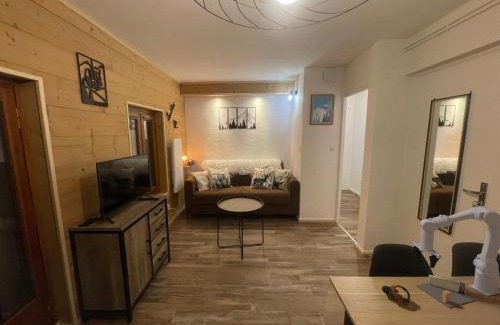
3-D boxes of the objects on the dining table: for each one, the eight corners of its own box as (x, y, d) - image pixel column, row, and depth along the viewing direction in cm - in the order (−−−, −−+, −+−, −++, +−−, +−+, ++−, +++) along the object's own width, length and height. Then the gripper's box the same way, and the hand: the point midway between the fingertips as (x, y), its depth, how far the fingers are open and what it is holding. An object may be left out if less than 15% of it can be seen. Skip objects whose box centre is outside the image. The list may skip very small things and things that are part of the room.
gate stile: (446, 299, 109) (447, 290, 109) (450, 301, 108) (450, 292, 107) (441, 300, 109) (442, 291, 108) (445, 303, 107) (446, 293, 107)
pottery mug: (402, 293, 116) (410, 286, 111) (405, 312, 109) (414, 306, 104) (377, 284, 119) (384, 277, 114) (379, 302, 112) (386, 295, 107)
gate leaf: (458, 290, 114) (458, 282, 114) (458, 292, 113) (459, 283, 113) (428, 282, 121) (429, 274, 121) (428, 283, 120) (429, 275, 120)
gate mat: (441, 279, 124) (441, 279, 124) (476, 300, 109) (476, 299, 109) (416, 286, 120) (416, 285, 120) (449, 308, 105) (449, 307, 104)
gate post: (460, 292, 114) (461, 281, 114) (465, 294, 112) (466, 284, 112) (457, 293, 114) (458, 282, 113) (462, 295, 112) (463, 285, 111)
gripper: (408, 236, 128) (407, 258, 130) (435, 248, 115) (433, 272, 116) (418, 234, 130) (416, 256, 132) (445, 246, 116) (443, 270, 118)
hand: (425, 263), depth 124 cm, fingers open, 7 cm apart
